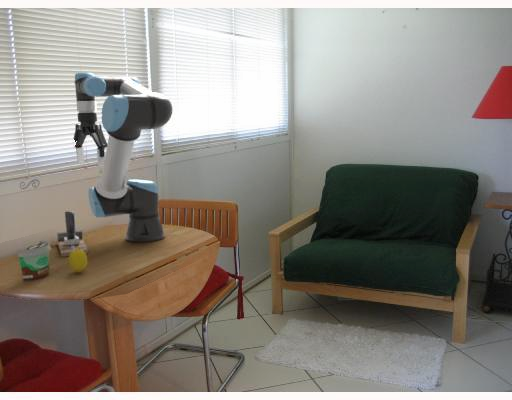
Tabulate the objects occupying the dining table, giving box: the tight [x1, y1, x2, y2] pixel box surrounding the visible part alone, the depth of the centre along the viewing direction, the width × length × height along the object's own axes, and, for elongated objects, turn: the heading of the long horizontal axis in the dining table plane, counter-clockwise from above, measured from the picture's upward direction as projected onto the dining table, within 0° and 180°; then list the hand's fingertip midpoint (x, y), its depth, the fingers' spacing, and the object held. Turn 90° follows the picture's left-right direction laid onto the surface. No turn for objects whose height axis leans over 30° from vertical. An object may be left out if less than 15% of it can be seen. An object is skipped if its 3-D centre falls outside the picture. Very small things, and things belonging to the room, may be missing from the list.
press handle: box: [64, 210, 80, 246], centre depth 201 cm, size 5×5×12 cm
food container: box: [17, 240, 52, 282], centre depth 169 cm, size 12×6×10 cm, turn 168°
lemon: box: [68, 248, 88, 273], centre depth 172 cm, size 6×6×8 cm
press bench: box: [56, 229, 89, 258], centre depth 202 cm, size 20×9×4 cm, turn 23°
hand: (91, 164), depth 223 cm, fingers open, 13 cm apart
